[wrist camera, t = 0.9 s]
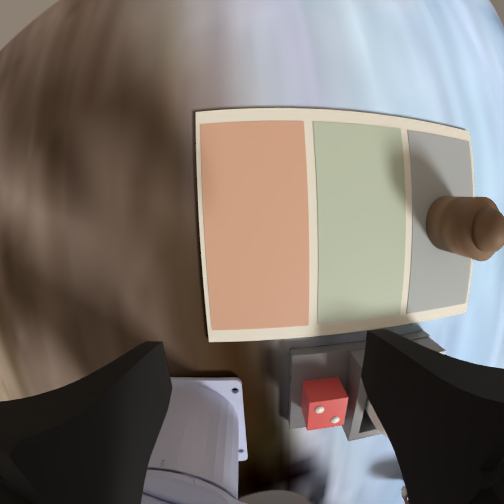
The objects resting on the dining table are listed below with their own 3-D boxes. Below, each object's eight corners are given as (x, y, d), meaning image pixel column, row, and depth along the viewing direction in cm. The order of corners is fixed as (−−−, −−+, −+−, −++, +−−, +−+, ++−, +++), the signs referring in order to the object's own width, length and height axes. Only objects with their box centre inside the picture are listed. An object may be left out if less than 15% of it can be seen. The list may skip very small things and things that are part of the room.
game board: (463, 311, 20) (466, 312, 19) (209, 339, 19) (208, 342, 19) (467, 132, 17) (469, 131, 17) (196, 113, 17) (195, 111, 17)
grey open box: (407, 399, 21) (425, 422, 17) (288, 420, 21) (294, 451, 17) (423, 330, 20) (448, 350, 16) (289, 349, 20) (298, 377, 16)
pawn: (462, 249, 18) (517, 264, 12) (425, 251, 18) (481, 269, 12) (463, 197, 18) (520, 199, 12) (425, 195, 18) (484, 195, 12)
